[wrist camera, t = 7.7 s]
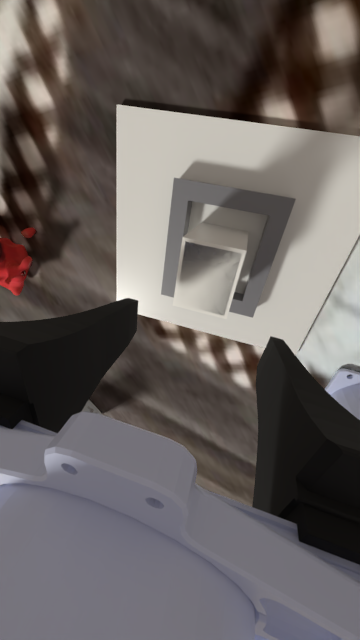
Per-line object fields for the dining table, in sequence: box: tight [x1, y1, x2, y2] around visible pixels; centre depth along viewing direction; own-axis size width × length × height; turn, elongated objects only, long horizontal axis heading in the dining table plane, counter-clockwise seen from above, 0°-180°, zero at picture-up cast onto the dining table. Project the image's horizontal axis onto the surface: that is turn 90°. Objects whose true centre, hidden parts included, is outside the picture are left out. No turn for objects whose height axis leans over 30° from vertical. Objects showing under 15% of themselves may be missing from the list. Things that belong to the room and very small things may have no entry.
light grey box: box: [173, 223, 248, 319], centre depth 17 cm, size 4×4×6 cm
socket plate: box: [117, 105, 360, 356], centre depth 18 cm, size 18×16×2 cm
